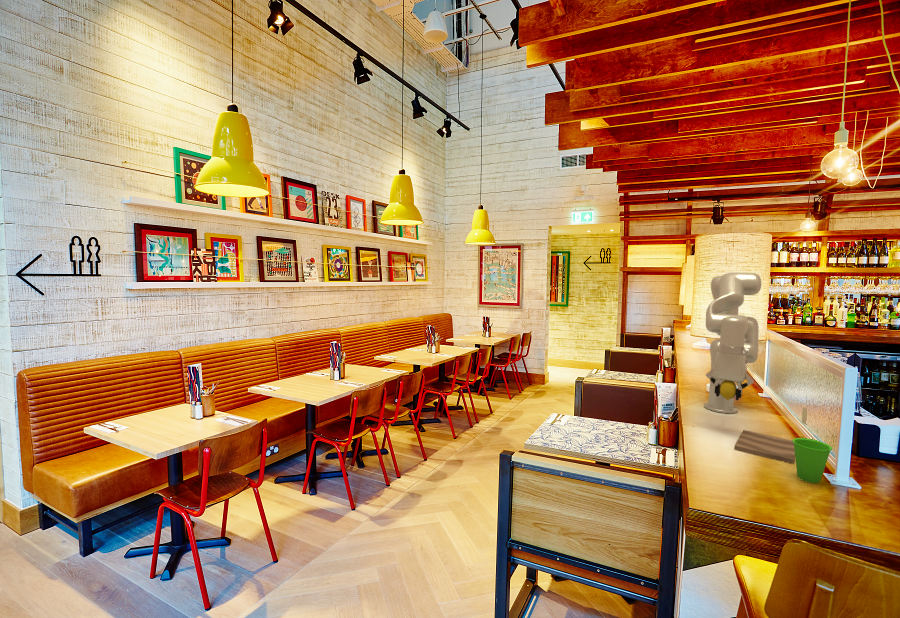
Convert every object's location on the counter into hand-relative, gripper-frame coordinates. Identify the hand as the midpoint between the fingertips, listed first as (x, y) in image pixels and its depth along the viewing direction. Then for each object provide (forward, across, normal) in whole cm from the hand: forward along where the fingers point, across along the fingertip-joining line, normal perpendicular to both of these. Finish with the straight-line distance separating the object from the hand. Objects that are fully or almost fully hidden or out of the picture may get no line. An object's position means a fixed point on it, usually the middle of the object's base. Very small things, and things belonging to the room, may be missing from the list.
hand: (727, 397), depth 160 cm
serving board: (+14, -13, +5) cm, 20 cm away
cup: (+14, -25, +25) cm, 38 cm away
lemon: (+1, 0, 0) cm, 1 cm away
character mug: (+15, -25, -13) cm, 32 cm away
